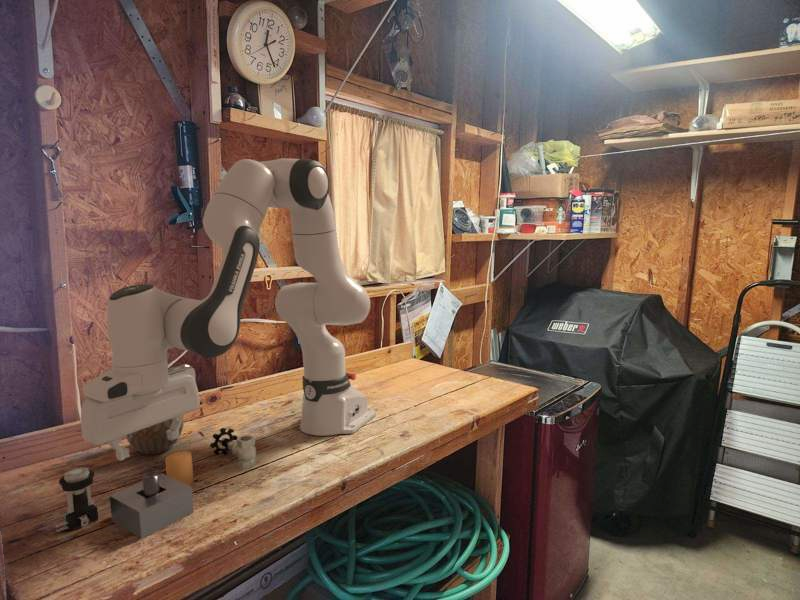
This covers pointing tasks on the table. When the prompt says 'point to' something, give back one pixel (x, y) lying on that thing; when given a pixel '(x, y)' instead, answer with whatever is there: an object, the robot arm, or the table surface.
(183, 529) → the table surface
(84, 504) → the push button
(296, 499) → the table surface
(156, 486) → the cylinder
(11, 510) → the table surface
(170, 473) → the orange rounded tapered piece
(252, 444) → the valve
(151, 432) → the vase
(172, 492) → the bore block
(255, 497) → the table surface
